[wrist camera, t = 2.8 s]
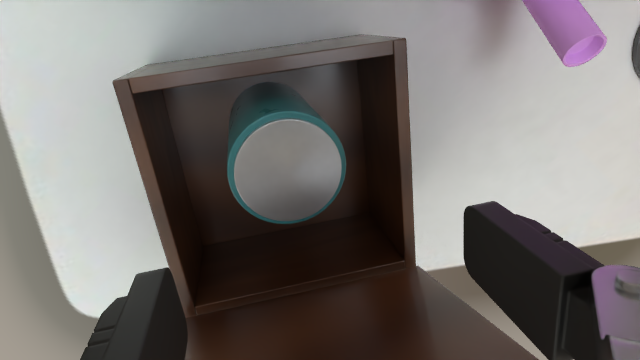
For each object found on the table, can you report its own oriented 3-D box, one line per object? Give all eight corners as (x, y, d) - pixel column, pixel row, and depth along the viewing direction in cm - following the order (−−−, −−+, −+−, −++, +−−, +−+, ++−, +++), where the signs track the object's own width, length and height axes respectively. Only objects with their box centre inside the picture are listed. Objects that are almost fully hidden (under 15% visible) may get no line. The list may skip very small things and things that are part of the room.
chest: (145, 65, 26) (111, 80, 18) (362, 34, 27) (406, 38, 20) (196, 251, 31) (184, 319, 23) (376, 214, 32) (416, 267, 25)
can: (211, 126, 27) (200, 180, 18) (266, 63, 26) (284, 85, 17) (274, 176, 29) (292, 248, 20) (326, 119, 28) (371, 165, 19)
